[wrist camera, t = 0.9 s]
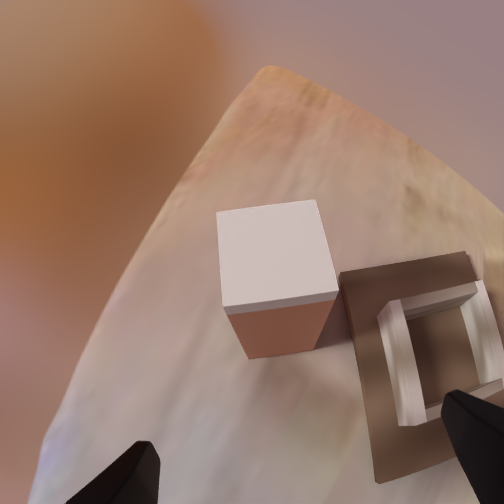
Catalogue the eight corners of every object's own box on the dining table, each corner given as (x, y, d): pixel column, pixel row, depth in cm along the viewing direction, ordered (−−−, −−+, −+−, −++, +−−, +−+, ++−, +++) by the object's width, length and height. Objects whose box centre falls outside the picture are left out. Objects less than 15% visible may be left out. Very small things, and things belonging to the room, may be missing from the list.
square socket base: (504, 427, 16) (534, 423, 13) (375, 481, 16) (393, 492, 13) (460, 256, 24) (480, 232, 21) (338, 277, 24) (347, 252, 21)
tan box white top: (312, 350, 22) (339, 290, 12) (248, 359, 22) (222, 306, 12) (302, 291, 24) (315, 199, 15) (242, 300, 24) (216, 212, 15)
